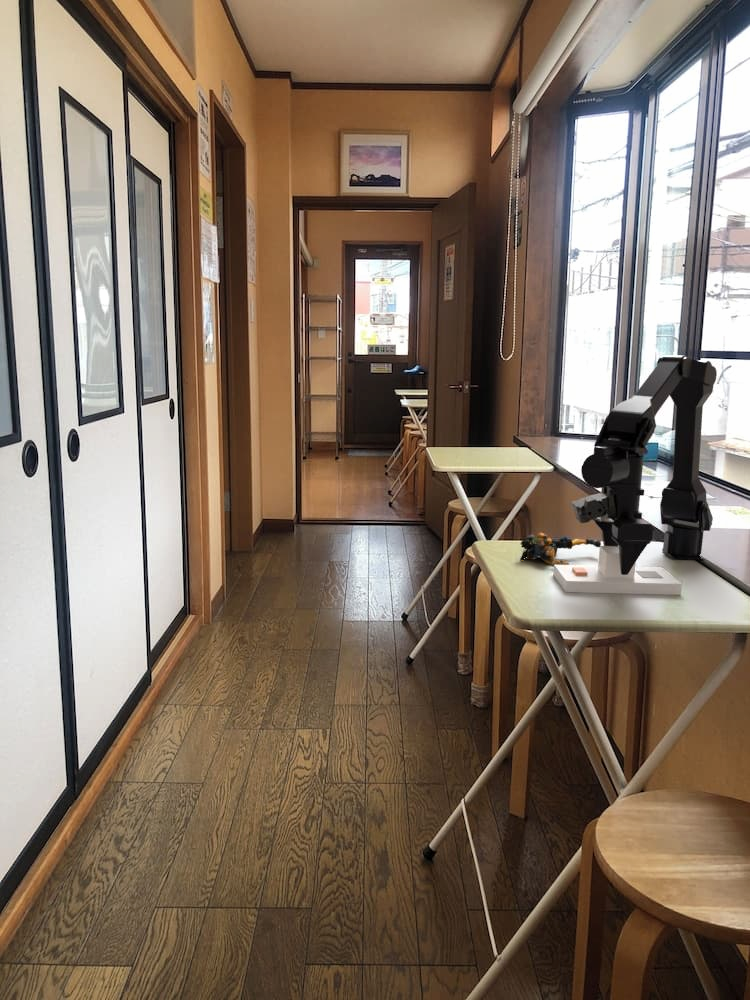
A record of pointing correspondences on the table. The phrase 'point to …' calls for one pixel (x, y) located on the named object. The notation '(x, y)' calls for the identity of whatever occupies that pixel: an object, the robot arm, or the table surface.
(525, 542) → the action figure
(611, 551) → the block
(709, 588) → the table surface
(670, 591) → the power strip
